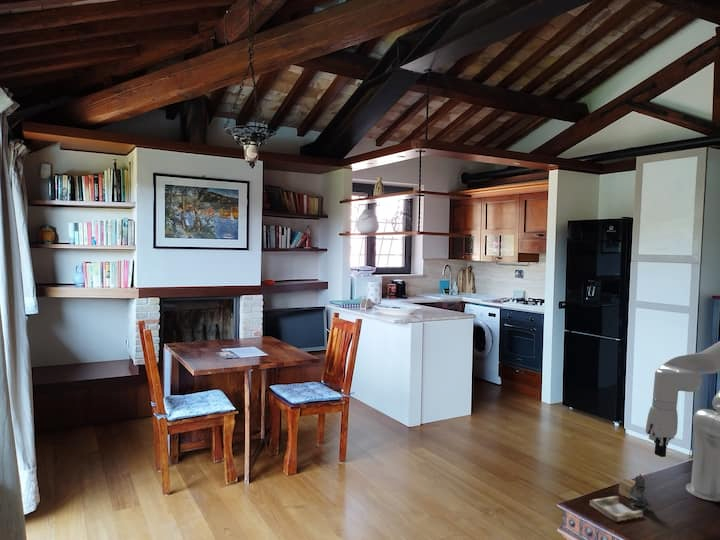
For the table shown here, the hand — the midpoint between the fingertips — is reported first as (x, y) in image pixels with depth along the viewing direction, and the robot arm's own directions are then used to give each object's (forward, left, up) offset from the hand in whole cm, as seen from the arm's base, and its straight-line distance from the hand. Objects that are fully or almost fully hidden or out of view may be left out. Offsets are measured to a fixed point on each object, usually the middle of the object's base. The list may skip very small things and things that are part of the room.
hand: (660, 455), depth 186 cm
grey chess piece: (+9, 0, -18) cm, 20 cm away
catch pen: (+19, 0, -18) cm, 26 cm away
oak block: (+5, -8, -18) cm, 20 cm away
